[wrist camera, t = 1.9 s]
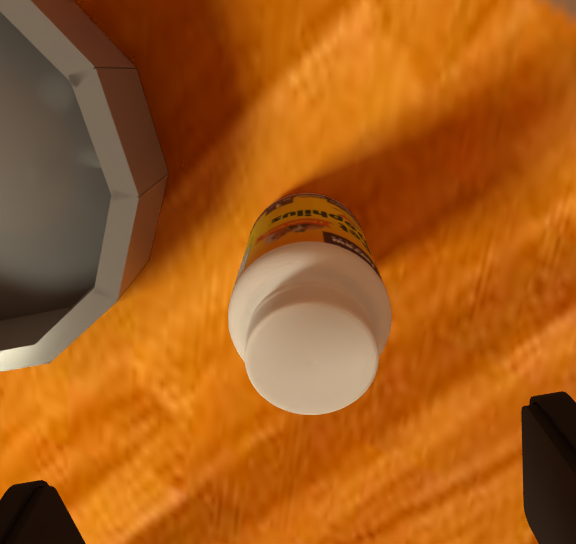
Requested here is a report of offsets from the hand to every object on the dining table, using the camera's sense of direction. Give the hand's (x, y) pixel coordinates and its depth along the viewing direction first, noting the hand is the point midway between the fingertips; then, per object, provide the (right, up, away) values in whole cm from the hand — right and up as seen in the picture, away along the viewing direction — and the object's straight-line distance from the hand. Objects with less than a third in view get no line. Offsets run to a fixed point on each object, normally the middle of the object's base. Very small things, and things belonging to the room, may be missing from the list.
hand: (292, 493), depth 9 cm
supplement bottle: (+1, +6, +14) cm, 15 cm away
